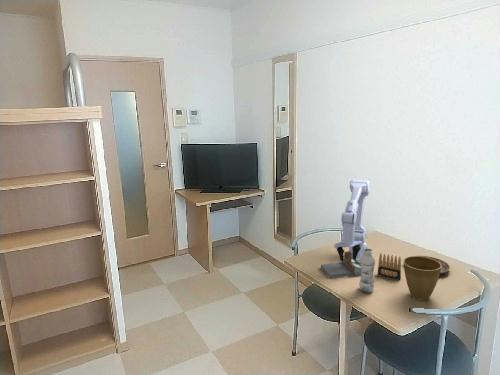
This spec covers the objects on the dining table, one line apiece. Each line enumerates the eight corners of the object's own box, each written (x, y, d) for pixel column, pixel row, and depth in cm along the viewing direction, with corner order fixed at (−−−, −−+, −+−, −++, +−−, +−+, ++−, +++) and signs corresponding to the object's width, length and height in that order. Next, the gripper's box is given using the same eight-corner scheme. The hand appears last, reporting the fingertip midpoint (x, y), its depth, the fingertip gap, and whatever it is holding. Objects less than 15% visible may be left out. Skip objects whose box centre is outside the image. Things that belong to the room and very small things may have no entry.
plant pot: (445, 297, 152) (448, 263, 148) (427, 309, 144) (430, 274, 140) (412, 284, 164) (415, 252, 160) (394, 294, 155) (396, 261, 152)
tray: (353, 263, 188) (353, 257, 187) (366, 274, 175) (366, 268, 174) (342, 264, 187) (342, 258, 186) (354, 276, 173) (354, 269, 173)
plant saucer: (407, 257, 192) (407, 252, 191) (450, 265, 182) (450, 259, 181) (401, 273, 175) (402, 267, 174) (448, 282, 164) (449, 276, 164)
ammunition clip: (400, 278, 169) (402, 256, 166) (400, 280, 168) (401, 257, 165) (378, 273, 175) (379, 251, 172) (377, 275, 174) (378, 253, 171)
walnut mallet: (344, 260, 186) (344, 247, 184) (356, 271, 174) (356, 257, 172) (340, 261, 186) (340, 248, 184) (351, 272, 173) (351, 258, 171)
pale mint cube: (356, 270, 179) (358, 264, 179) (360, 273, 175) (362, 268, 175) (349, 268, 178) (351, 263, 178) (353, 271, 174) (355, 266, 174)
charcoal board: (342, 265, 186) (342, 261, 185) (353, 275, 174) (353, 271, 174) (320, 268, 184) (320, 264, 183) (329, 278, 172) (329, 274, 172)
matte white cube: (350, 264, 186) (352, 259, 186) (353, 267, 182) (355, 262, 182) (343, 262, 185) (345, 257, 185) (347, 265, 181) (349, 260, 181)
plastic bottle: (366, 295, 156) (367, 254, 151) (356, 288, 162) (357, 248, 157) (377, 292, 158) (379, 251, 154) (366, 285, 164) (368, 246, 160)
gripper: (338, 239, 171) (338, 264, 174) (365, 236, 173) (364, 261, 176) (332, 234, 177) (332, 258, 180) (358, 231, 180) (358, 255, 183)
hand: (347, 259), depth 179 cm, fingers open, 6 cm apart
